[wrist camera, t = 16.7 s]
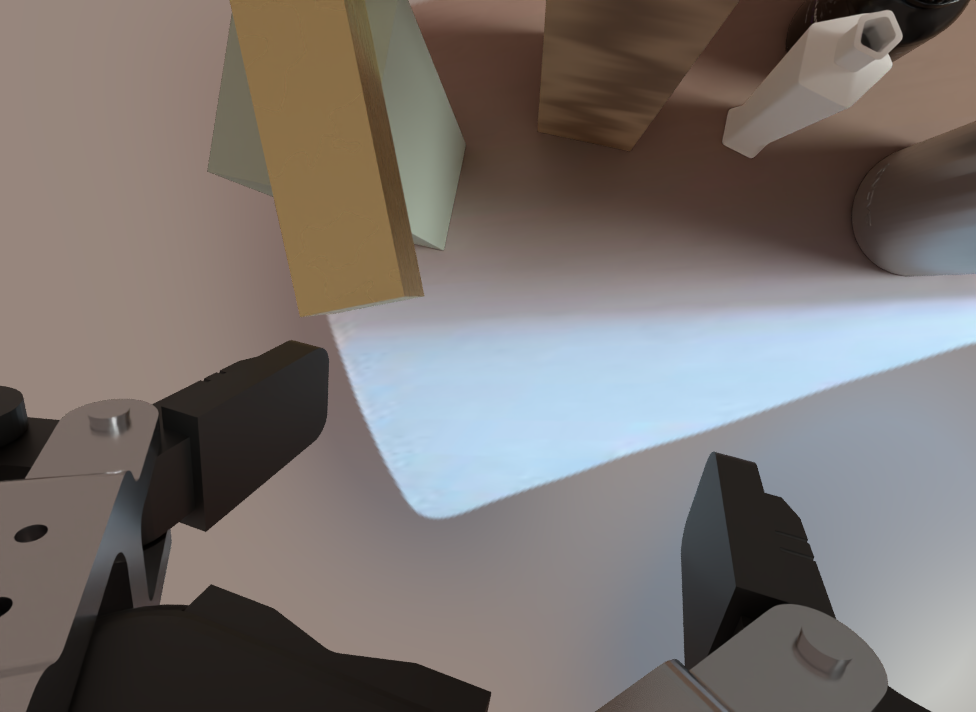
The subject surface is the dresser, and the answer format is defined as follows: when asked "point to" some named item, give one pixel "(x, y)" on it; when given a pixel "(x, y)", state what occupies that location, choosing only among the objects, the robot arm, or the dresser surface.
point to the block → (411, 111)
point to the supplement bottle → (915, 3)
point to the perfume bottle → (815, 79)
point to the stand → (618, 63)
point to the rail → (328, 152)
